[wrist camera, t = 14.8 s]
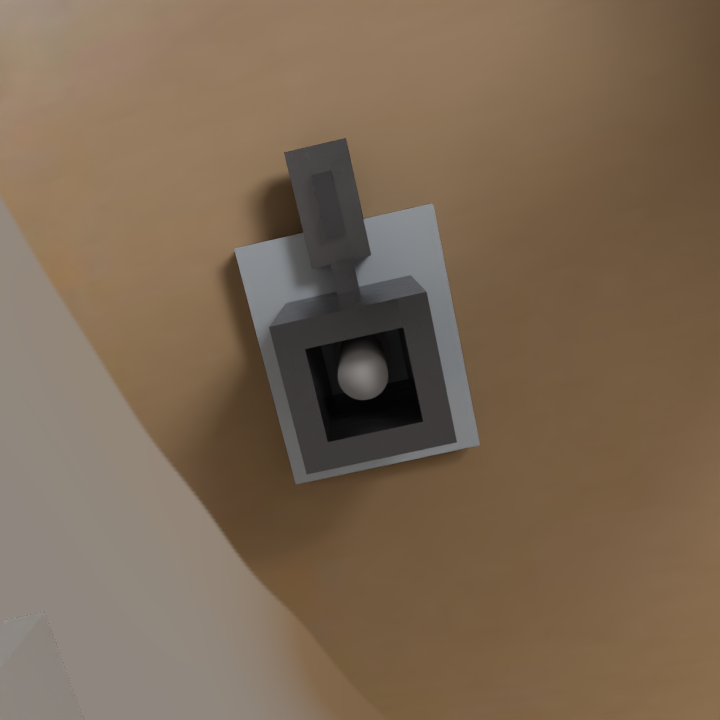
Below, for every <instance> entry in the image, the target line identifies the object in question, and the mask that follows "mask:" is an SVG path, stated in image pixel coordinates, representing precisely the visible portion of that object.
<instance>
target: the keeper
mask: <svg viewBox="0 0 720 720" xmlns="http://www.w3.org/2000/svg"><path fill="white" fill-rule="evenodd" d="M364 224H365V229H366V233H367V238H368V242H369V247H370V252H371V256H367V257H362V258H358V259H353V262H354V267H355V271H356V276H357V280H358V285H359V287H360V286H364V285H369V284H373V283H378V282H382V281H386V280H391V279H395V278H400V277H404V276H409V275H411V276H412V277H413V278H414V279H415V280H416V281H417V282H418V283H419V284H420V285H421V286H422V287H423V288H424V289H425V290H426V292H427V296H428V301H429V306H430V311H431V316H432V321H433V326H434V331H435V336H436V340H437V345H438V350H439V355H440V360H441V365H442V370H443V375H444V380H445V385H446V390H447V395H448V400H449V405H450V410H451V415H452V420H453V425H454V430H455V435H456V440H457V442H456V443H452V444H447V445H442V446H438V447H433V448H428V449H424V450H419V451H414V452H410V453H405V454H400V455H396V456H391V457H387V458H382V459H377V460H373V461H368V462H363V463H359V464H354V465H349V466H345V467H340V468H335V469H331V470H326V471H321V472H317V473H312V474H306V470H305V466H304V463H303V459H302V455H301V451H300V447H299V443H298V439H297V435H296V431H295V427H294V423H293V420H292V416H291V412H290V408H289V404H288V400H287V396H286V392H285V388H284V384H283V380H282V377H281V373H280V369H279V365H278V361H277V357H276V353H275V349H274V345H273V341H272V337H271V334H270V330H269V326H270V325H271V323H272V322H273V321H274V319H275V318H276V317H277V315H278V314H279V312H280V311H281V310H282V308H283V307H284V306H285V304H286V303H288V302H293V301H297V300H302V299H306V298H311V297H315V296H320V295H324V294H328V293H333V292H337V291H336V287H335V283H334V278H333V274H332V270H331V265H327V266H322V267H318V268H314V269H312V268H311V263H310V259H309V255H308V251H307V246H306V242H305V238H304V234H303V233H299V234H295V235H291V236H286V237H282V238H278V239H273V240H269V241H264V242H260V243H256V244H251V245H247V246H243V247H238V248H235V249H234V250H235V254H236V258H237V262H238V266H239V269H240V273H241V277H242V281H243V285H244V289H245V292H246V296H247V300H248V304H249V308H250V311H251V315H252V319H253V323H254V327H255V331H256V334H257V338H258V342H259V346H260V350H261V354H262V357H263V361H264V365H265V369H266V373H267V377H268V380H269V384H270V388H271V392H272V396H273V400H274V403H275V407H276V411H277V415H278V419H279V423H280V426H281V430H282V434H283V438H284V442H285V446H286V449H287V453H288V457H289V461H290V465H291V469H292V472H293V476H294V480H295V484H296V485H297V484H301V483H306V482H311V481H315V480H320V479H325V478H329V477H334V476H339V475H343V474H348V473H352V472H357V471H362V470H366V469H371V468H376V467H380V466H385V465H390V464H394V463H399V462H404V461H408V460H413V459H418V458H422V457H427V456H432V455H436V454H441V453H446V452H450V451H455V450H460V449H464V448H469V447H474V446H478V445H480V442H479V437H478V432H477V427H476V422H475V417H474V412H473V406H472V401H471V396H470V391H469V386H468V381H467V376H466V370H465V365H464V360H463V355H462V350H461V345H460V339H459V334H458V329H457V324H456V319H455V314H454V309H453V303H452V298H451V293H450V288H449V283H448V278H447V273H446V267H445V262H444V257H443V252H442V247H441V242H440V236H439V231H438V226H437V221H436V216H435V211H434V206H433V203H432V204H426V205H422V206H418V207H413V208H409V209H405V210H400V211H396V212H391V213H387V214H383V215H378V216H374V217H370V218H365V219H364ZM321 348H322V352H323V356H324V360H325V364H326V369H327V373H328V377H329V381H330V385H331V389H332V394H333V395H336V394H340V393H346V394H347V395H348V396H350V397H352V398H354V399H357V400H369V399H372V398H374V397H376V396H378V395H379V394H380V393H381V392H382V391H383V390H384V388H385V387H386V385H387V383H391V382H395V381H400V380H405V379H408V374H407V369H406V364H405V360H404V355H403V350H402V346H401V341H400V336H399V332H398V329H394V330H389V331H385V332H380V333H376V334H371V335H366V336H362V337H357V338H353V339H348V340H344V341H339V342H335V343H330V344H326V345H321Z"/></svg>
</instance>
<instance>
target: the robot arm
mask: <svg viewBox="0 0 720 720" xmlns="http://www.w3.org/2000/svg"><path fill="white" fill-rule="evenodd" d="M0 720H84V718H83V716H82V713H81V710H80V707H79V705H78V702H77V699H76V697H75V694H74V691H73V689H72V686H71V683H70V680H69V677H68V675H67V672H66V669H65V666H64V664H63V661H62V659H61V656H60V653H59V650H58V647H57V645H56V642H55V639H54V636H53V634H52V631H51V628H50V626H49V623H48V620H47V617H46V615H45V612H40V613H35V614H30V615H26V616H21V617H16V618H11V619H6V620H5V622H4V623H3V624H2V625H1V626H0Z"/></svg>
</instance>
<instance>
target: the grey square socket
mask: <svg viewBox="0 0 720 720" xmlns="http://www.w3.org/2000/svg"><path fill="white" fill-rule="evenodd" d="M284 154H285V158H286V162H287V166H288V171H289V175H290V179H291V183H292V187H293V192H294V196H295V200H296V204H297V209H298V213H299V217H300V221H301V225H302V230H303V234H304V238H305V242H306V246H307V251H308V255H309V259H310V263H311V268H312V269H314V268H318V267H322V266H327V265H331V270H332V274H333V278H334V283H335V287H336V291H337V292H333V293H328V294H324V295H320V296H315V297H311V298H306V299H302V300H297V301H293V302H288V303H286V304H285V306H284V307H283V308H282V310H281V311H280V312H279V314H278V315H277V317H276V318H275V319H274V321H273V322H272V323H271V325H270V326H269V330H270V334H271V337H272V341H273V345H274V349H275V353H276V357H277V361H278V365H279V369H280V373H281V377H282V380H283V384H284V388H285V392H286V396H287V400H288V404H289V408H290V412H291V416H292V420H293V423H294V427H295V431H296V435H297V439H298V443H299V447H300V451H301V455H302V459H303V463H304V466H305V470H306V474H312V473H317V472H321V471H326V470H331V469H335V468H340V467H345V466H349V465H354V464H359V463H363V462H368V461H373V460H377V459H382V458H387V457H391V456H396V455H400V454H405V453H410V452H414V451H419V450H424V449H428V448H433V447H438V446H442V445H447V444H452V443H456V442H457V440H456V435H455V430H454V425H453V420H452V415H451V410H450V405H449V400H448V395H447V390H446V385H445V380H444V375H443V370H442V365H441V360H440V355H439V350H438V345H437V340H436V336H435V331H434V326H433V321H432V316H431V311H430V306H429V301H428V296H427V292H426V290H425V289H424V288H423V287H422V286H421V285H420V284H419V283H418V282H417V281H416V280H415V279H414V278H413V277H412V276H411V275H409V276H404V277H400V278H395V279H391V280H386V281H382V282H378V283H373V284H369V285H364V286H360V287H359V285H358V280H357V276H356V271H355V267H354V262H353V259H358V258H362V257H367V256H371V252H370V247H369V242H368V238H367V233H366V229H365V224H364V219H363V215H362V210H361V206H360V201H359V196H358V192H357V187H356V182H355V178H354V173H353V169H352V164H351V159H350V155H349V150H348V146H347V141H346V138H344V139H340V140H336V141H331V142H327V143H323V144H319V145H314V146H310V147H306V148H301V149H297V150H293V151H288V152H284ZM394 329H398V332H399V336H400V341H401V346H402V350H403V355H404V360H405V364H406V369H407V374H408V379H405V380H400V381H395V382H391V383H387V385H386V387H385V388H384V390H383V391H382V392H381V393H380V394H379V395H378V396H376V397H374V398H372V399H369V400H357V399H354V398H352V397H350V396H348V395H347V394H346V393H340V394H336V395H333V394H332V389H331V385H330V381H329V377H328V373H327V369H326V364H325V360H324V356H323V352H322V348H321V345H326V344H330V343H335V342H339V341H344V340H348V339H353V338H357V337H362V336H366V335H371V334H376V333H380V332H385V331H389V330H394Z"/></svg>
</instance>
